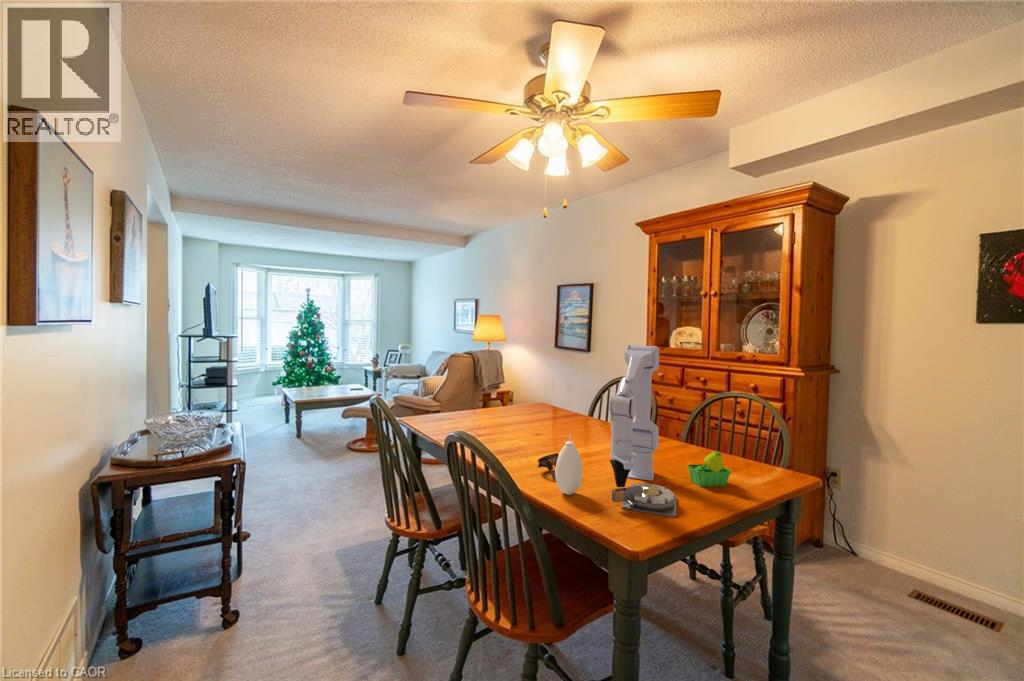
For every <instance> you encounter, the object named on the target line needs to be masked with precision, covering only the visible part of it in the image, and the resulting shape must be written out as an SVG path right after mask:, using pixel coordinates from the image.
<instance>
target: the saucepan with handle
mask: <svg viewBox="0 0 1024 681" xmlns="http://www.w3.org/2000/svg"><path fill="white" fill-rule="evenodd" d="M645 484H646V483H637V484H635V483H633V484H632V485H629V486H628V487H617V488H613V489H611V501H612V502H614V503H623V501H628V500H637V501H641V502H644V503H648V502H650V503H651V504H665V502H666V503H669V502H671V501H672V500H674V496H675V494H674V492H673V491H672V490H670V488H666V487H665V486H663V485H662V486H661V485H658V484H652V485H655V486H658V487H659V494H660V495H659V496H649V495H646V494H643V488H642V485H645Z"/></svg>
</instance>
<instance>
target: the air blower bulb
mask: <svg viewBox="0 0 1024 681" xmlns="http://www.w3.org/2000/svg"><path fill="white" fill-rule="evenodd" d="M571 439H572V438H571V434H569V436H568V441H566V442H565V443H564V446H562V448H561V450H560V452H559V453H558V454H559V456H558V459H557V463H556V468H555V471H554V472H555V477H556V480H555V482H556V485H557V487H558V489H559V490H560V491H561V492H562V493H563V494H565V495H566V496H570V495H573V494H575V492H577V491H578V490H579V489H580V486H581V483H582V479H583V464H582V463H583V462H582V459H581V456H580V453H579V450H578V449H577V447H576V445H575V443H574V441H572V440H571Z"/></svg>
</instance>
